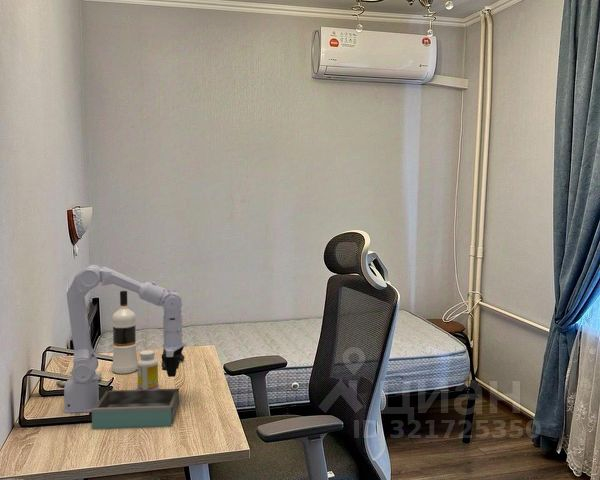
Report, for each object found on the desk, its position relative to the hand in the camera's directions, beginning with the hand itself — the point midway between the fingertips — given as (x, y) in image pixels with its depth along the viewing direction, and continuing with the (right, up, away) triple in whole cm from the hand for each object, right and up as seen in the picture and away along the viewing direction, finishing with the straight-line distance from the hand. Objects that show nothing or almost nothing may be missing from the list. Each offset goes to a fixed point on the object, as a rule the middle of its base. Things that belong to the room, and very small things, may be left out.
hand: (173, 372), depth 169 cm
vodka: (-25, -7, +30) cm, 39 cm away
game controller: (-37, -8, +17) cm, 41 cm away
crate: (-8, -10, -10) cm, 16 cm away
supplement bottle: (-11, -9, +11) cm, 18 cm away
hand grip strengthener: (-8, -6, +36) cm, 38 cm away
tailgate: (-7, -11, -19) cm, 23 cm away
